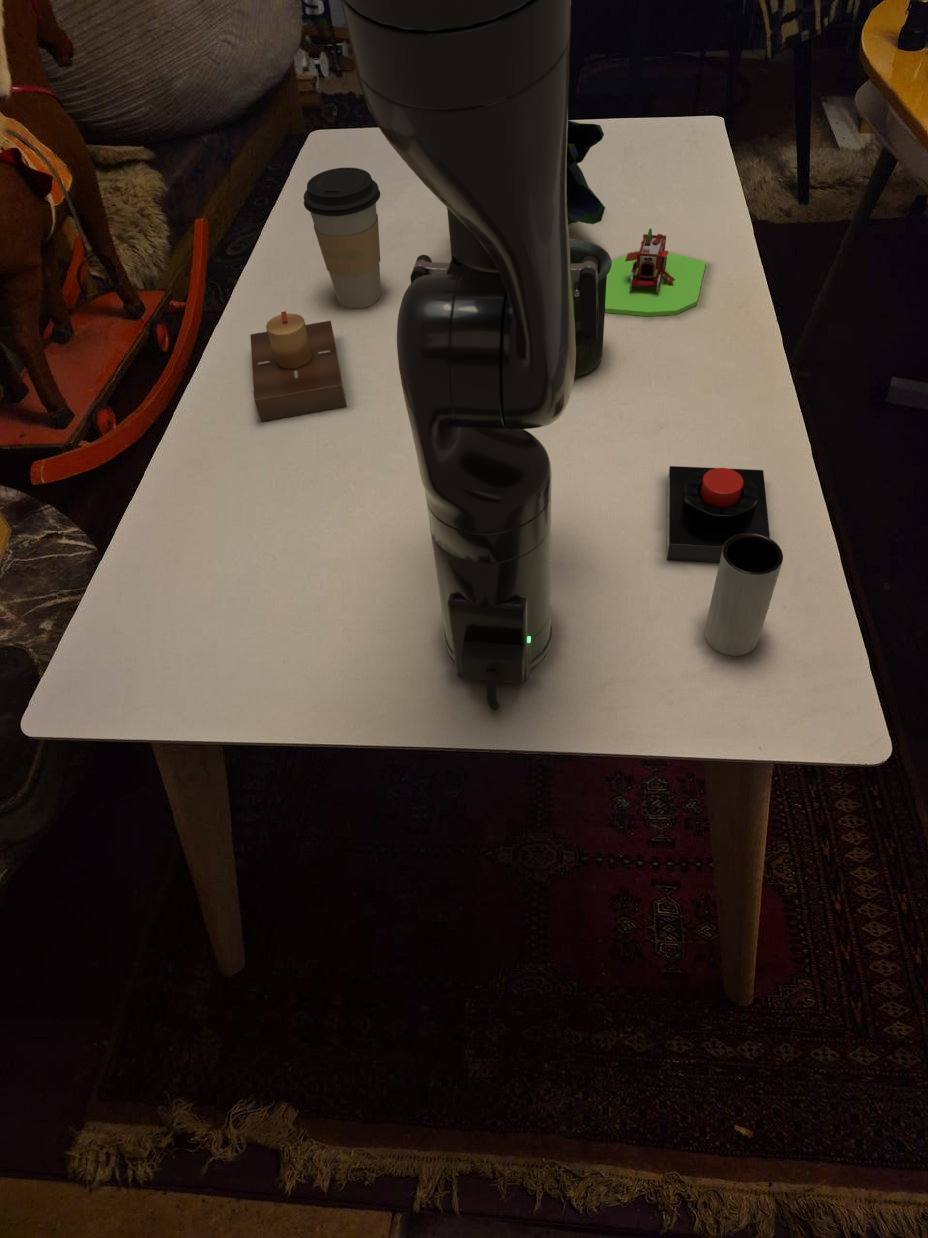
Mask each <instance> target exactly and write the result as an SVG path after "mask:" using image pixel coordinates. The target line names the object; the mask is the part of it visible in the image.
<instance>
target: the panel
mask: <svg viewBox="0 0 928 1238" xmlns="http://www.w3.org/2000/svg"><path fill="white" fill-rule="evenodd" d="M305 325H306V329H307V334H308V338H309V342H310V346H311V350H312V355H313V356H312V359H311V360H310V362H308V363H307V364H306V365H304V366H301V367H298V368H293V369H286V368H282V367H280V366H278V365H277V364H276V361H275V358H274V354H273V350H272V347H271V343H270V340H269V336H268V333H267V331H262V332H256V333H251V334H249V336H250V352H251V353H250V354H251V367H252V368H251V369H252V370H251V371H252V381H253V383H252V385H253V399H254V400H253V401H254V404H255V407H256V410H257V414H258V417H259V420H260V422H261V423H262V422H267V421H268V422H269V421H273V420H280V419H285V418H291V417H296V416H300V415H307V414H313V413H319V412H324V411H329V410H335V409H340V408H346V407H347V406H348V405H347V400H346V394H345V389H344V383H343V378H342V371H341V366H340V360H339V355H338V349H337V344H336V339H335V335H334V330H333V325H332V321H331V320H326V321H320V322H313V323H307V324H305Z"/></svg>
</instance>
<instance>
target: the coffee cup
mask: <svg viewBox="0 0 928 1238" xmlns="http://www.w3.org/2000/svg"><path fill="white" fill-rule="evenodd" d="M380 198H381V190H380V189H379V185H378V183H377V182H376V181H375V180H374V179H373V178H372V175H371V174H370V173H369V172H368V171H367V170H364V169H362V168H359V167H337V168H331V169H327V170H324V171H322V172H319V173H317V174H316V175H314V176H312V177H310V179H309V180H308V182H307V184H306V190H305V192H304V193H303V205H304V208H305V209H306V210H307V211H308V212H310V216H311V219H312V222H313V229H314V233H315V236H316V239H317V242H318V245H319V249H320V251H321V255H322V258H323V262H324V265H325V267H326V270H327V272H328V273H329V277H330V281H331V282H332V285H333V288H334V292H335V296H336V299H337V301H338V303H339V305H340V306H343V307H344V308H346V309H347V308H348V309H363V308H369V307H370V306H373V305H374V304H376V303H378V301H379V300H380V298H381V296H382V290H381V289H382V287H381V269H380V268H381V267H380V263H381V247H380V246H381V245H380V231H379V230H380V228H379V215H378V213H377V203H378V201H379V199H380Z"/></svg>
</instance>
